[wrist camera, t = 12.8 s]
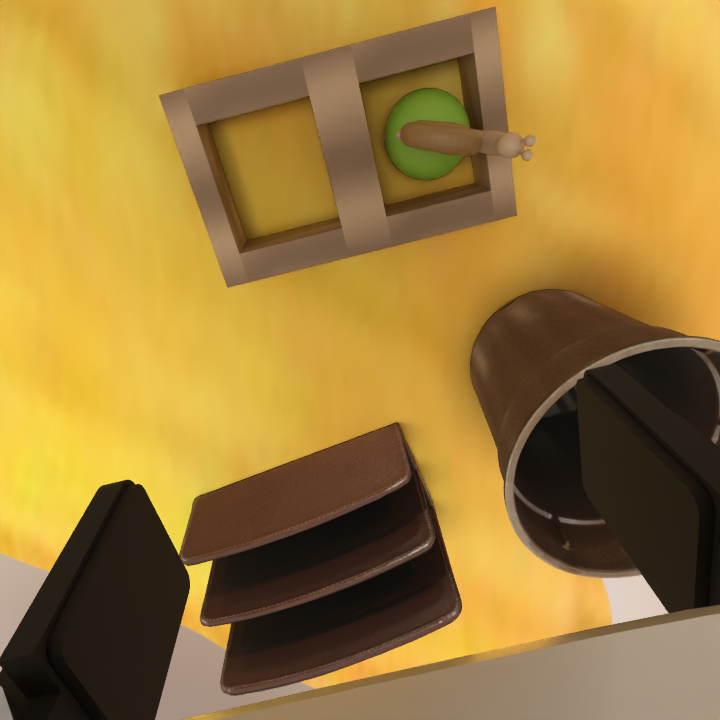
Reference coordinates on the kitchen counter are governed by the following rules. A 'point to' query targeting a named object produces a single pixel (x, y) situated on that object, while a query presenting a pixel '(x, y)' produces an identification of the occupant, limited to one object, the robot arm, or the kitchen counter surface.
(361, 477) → the letter holder
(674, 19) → the kitchen counter surface
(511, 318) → the plant pot
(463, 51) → the brown wooden flat frame
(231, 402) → the kitchen counter surface
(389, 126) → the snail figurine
